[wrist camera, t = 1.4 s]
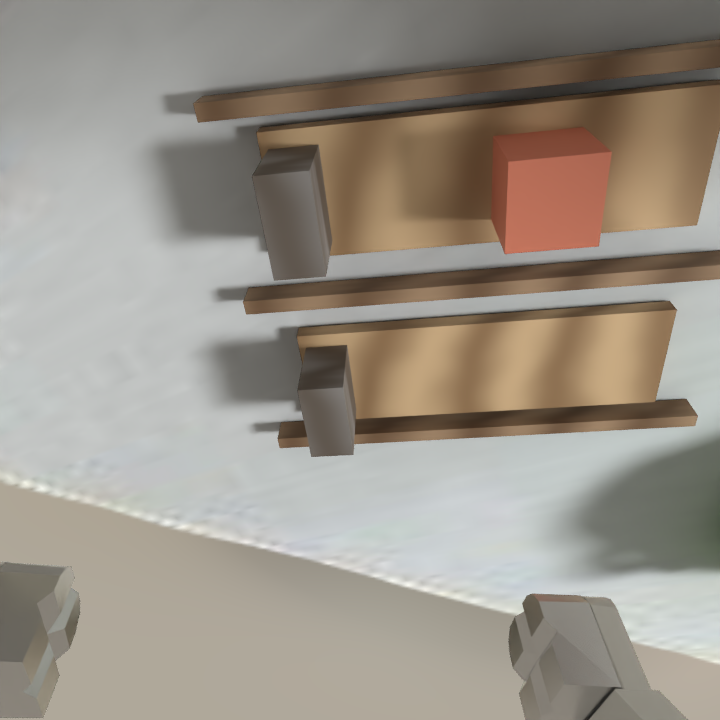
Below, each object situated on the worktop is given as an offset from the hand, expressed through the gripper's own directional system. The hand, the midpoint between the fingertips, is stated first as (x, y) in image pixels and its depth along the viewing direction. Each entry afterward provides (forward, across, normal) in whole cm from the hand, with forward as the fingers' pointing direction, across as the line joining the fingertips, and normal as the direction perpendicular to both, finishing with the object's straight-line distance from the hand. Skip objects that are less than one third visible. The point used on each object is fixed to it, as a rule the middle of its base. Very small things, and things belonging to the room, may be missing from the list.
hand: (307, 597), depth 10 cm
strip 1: (+29, -10, +1) cm, 31 cm away
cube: (+28, -12, 0) cm, 30 cm away
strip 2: (+29, -13, +14) cm, 35 cm away
